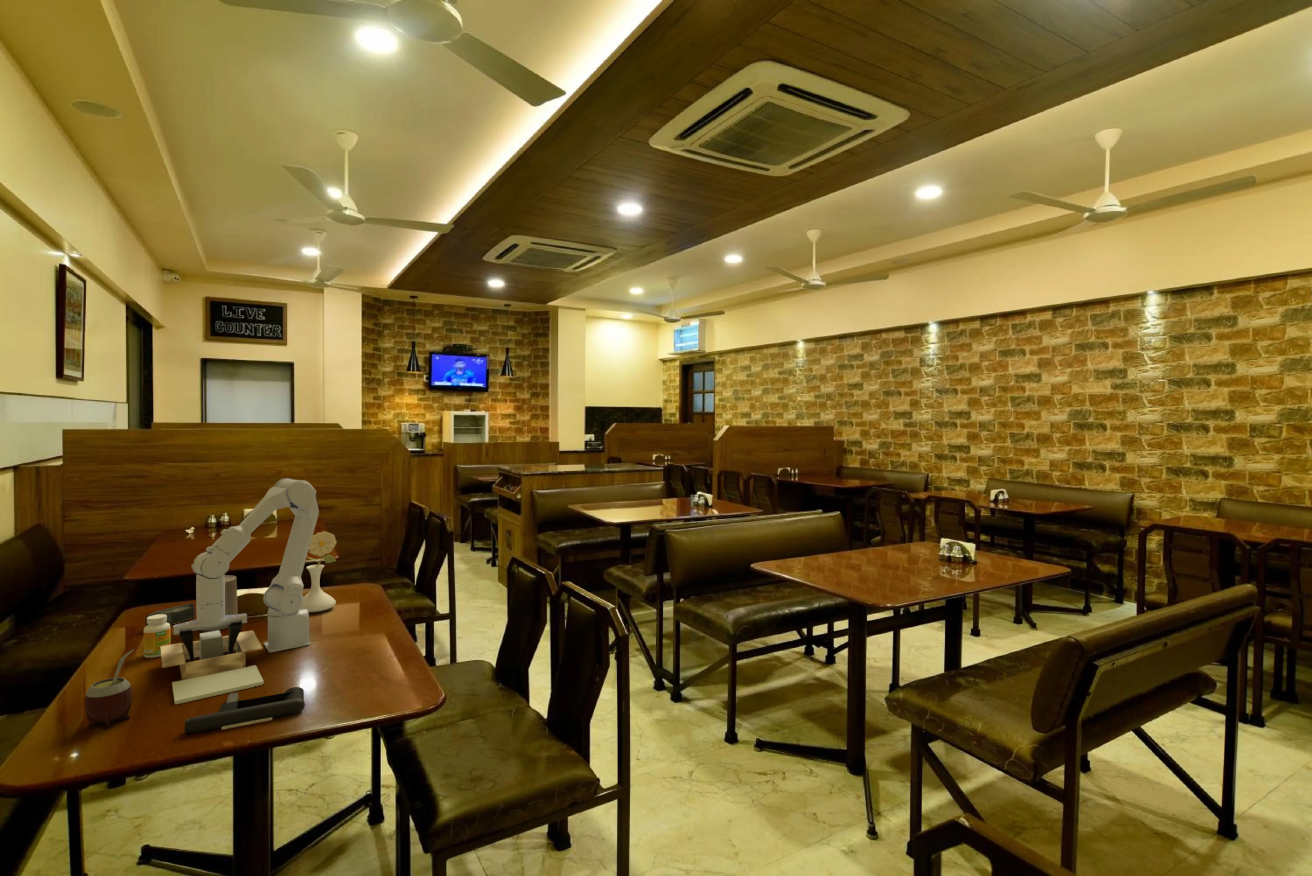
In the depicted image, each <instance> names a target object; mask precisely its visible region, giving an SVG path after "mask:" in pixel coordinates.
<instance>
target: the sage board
mask: <svg viewBox="0 0 1312 876" xmlns="http://www.w3.org/2000/svg"><path fill="white" fill-rule="evenodd" d="M261 675H262V674H261V673H260V671H259V669H258V667H257V665H255V664H254V665H250V666H246V667H244V668H239V669H234V670H229V671H225V672H220V673H215V674H210V675H205V676H200V677H195V678H191V679H186V680H182V679H181V680H177V681H172V682H171V686H172V693H173V701H174V705H179V704H184V703H189V702H192V701H199V700H202V699H206V698H210V697H215V696H219V695H224V694H228V693H229V694H230V693H234V692H237V691H240V690H241V691H242V690H246V689H251V688H255V686H256V687H259V685H260V686H263V685H262V684H265V681H264V679H263V677H262V676H261Z"/></svg>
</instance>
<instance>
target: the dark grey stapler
mask: <svg viewBox="0 0 1312 876" xmlns="http://www.w3.org/2000/svg"><path fill="white" fill-rule="evenodd" d="M195 612H196V608H195V604H194V603H192V602H191V603H185V604H181V605H176V606H172V607H169V608H164V609H160V610H157V611H153V612H152V613H150V614H148V615H147V616H146V617H145V622H144V623H145V624H144V625H145V627H146V626H147V625H148V624H147V617H149V616H153V615H159V614H165V615H167V621H166V623H169V624H170V625H171V624H174V623H178V622H182V621H185V620H188V619H191V618H193V619H195V618H196V613H195ZM191 620H192V619H191ZM188 621H189V620H188ZM185 622H186V621H185ZM182 623H183V622H182ZM178 624H179V623H178ZM171 626H172V625H171Z"/></svg>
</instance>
